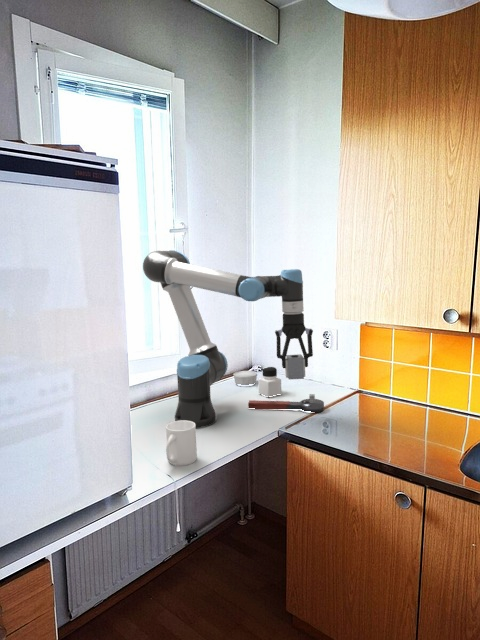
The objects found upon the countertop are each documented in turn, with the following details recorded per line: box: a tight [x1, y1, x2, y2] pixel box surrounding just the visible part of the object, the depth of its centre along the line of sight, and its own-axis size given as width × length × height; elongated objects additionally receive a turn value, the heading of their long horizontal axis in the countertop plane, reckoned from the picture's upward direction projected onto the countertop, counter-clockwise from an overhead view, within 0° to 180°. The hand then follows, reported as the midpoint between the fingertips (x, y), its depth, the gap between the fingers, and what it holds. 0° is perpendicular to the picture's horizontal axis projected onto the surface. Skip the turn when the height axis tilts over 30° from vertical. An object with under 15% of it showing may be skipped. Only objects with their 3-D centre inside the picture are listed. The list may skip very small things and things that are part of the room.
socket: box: [286, 353, 305, 380], centre depth 168 cm, size 5×5×8 cm
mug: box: [165, 420, 198, 467], centre depth 135 cm, size 9×12×11 cm
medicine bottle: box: [257, 366, 282, 397], centre depth 199 cm, size 7×7×12 cm
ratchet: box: [247, 393, 325, 414], centre depth 180 cm, size 29×9×6 cm, turn 81°
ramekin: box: [233, 370, 258, 385], centre depth 217 cm, size 11×11×5 cm
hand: (295, 376), depth 169 cm, fingers closed on socket, 5 cm apart
